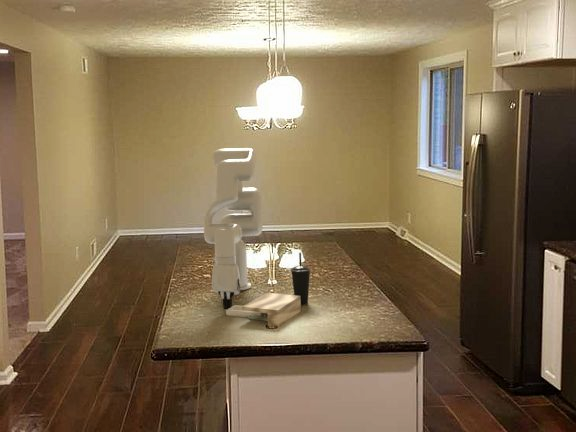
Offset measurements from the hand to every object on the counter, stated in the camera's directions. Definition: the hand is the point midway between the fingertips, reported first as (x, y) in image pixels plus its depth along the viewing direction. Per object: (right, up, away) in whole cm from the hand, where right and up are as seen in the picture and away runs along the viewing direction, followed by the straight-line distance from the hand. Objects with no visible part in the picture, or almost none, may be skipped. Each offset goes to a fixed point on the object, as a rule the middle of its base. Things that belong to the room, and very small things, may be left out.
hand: (227, 308), depth 269 cm
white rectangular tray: (+8, -2, -3) cm, 8 cm away
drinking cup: (+28, +1, +10) cm, 29 cm away
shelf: (+17, -2, -7) cm, 18 cm away
